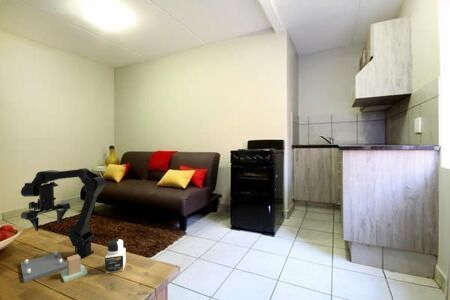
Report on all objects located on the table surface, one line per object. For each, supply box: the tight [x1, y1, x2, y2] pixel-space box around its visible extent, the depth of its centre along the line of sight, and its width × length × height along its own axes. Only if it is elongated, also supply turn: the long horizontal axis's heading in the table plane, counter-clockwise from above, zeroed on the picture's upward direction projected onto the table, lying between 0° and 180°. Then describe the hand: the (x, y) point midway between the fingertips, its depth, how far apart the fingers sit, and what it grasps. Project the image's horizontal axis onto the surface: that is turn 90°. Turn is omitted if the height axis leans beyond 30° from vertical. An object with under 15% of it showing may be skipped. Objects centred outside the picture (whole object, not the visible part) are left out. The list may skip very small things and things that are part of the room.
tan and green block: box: [59, 254, 88, 283], centre depth 93 cm, size 8×8×7 cm
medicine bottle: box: [104, 238, 127, 274], centre depth 97 cm, size 7×7×12 cm
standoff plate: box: [20, 250, 67, 283], centre depth 98 cm, size 18×14×3 cm
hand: (48, 227), depth 109 cm, fingers open, 9 cm apart
